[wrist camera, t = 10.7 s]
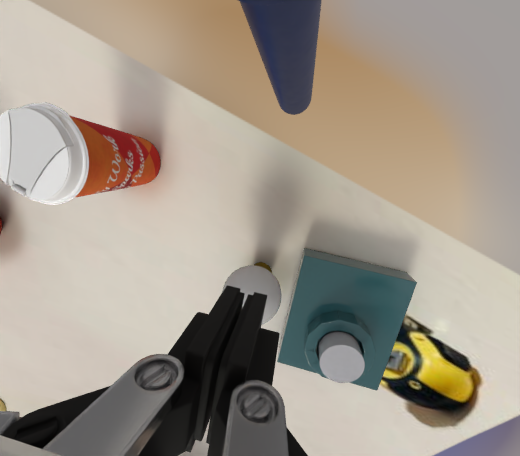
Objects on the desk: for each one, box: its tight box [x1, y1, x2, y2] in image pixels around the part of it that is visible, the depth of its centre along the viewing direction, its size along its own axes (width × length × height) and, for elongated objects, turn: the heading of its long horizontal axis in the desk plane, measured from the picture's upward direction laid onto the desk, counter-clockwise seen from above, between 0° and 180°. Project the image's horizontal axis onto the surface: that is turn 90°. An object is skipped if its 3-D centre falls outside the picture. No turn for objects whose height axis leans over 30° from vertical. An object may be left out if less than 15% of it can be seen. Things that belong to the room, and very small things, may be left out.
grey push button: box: [318, 331, 365, 383], centre depth 28 cm, size 4×4×2 cm
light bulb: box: [223, 262, 281, 325], centre depth 29 cm, size 6×6×10 cm
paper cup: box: [0, 102, 160, 205], centre depth 27 cm, size 8×8×14 cm
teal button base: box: [277, 248, 417, 390], centre depth 31 cm, size 14×12×5 cm
